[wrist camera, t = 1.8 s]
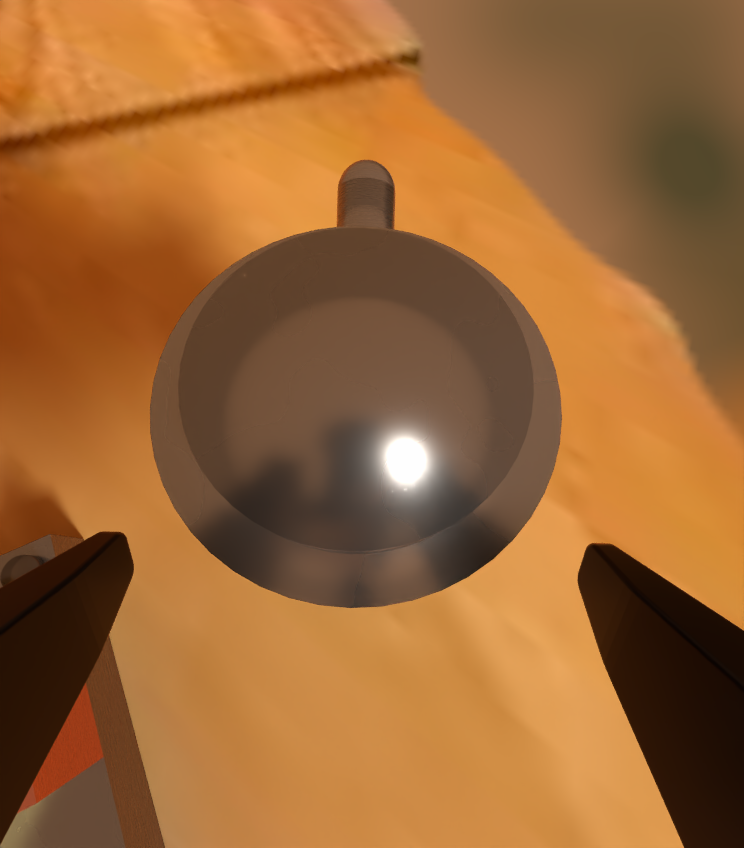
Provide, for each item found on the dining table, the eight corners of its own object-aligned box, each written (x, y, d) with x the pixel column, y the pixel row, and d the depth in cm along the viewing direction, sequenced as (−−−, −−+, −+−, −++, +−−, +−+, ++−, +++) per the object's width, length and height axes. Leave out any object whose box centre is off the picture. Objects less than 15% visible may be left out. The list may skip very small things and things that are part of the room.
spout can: (429, 588, 17) (616, 617, 5) (287, 585, 17) (76, 605, 5) (425, 391, 20) (534, 67, 7) (303, 388, 20) (200, 55, 7)
